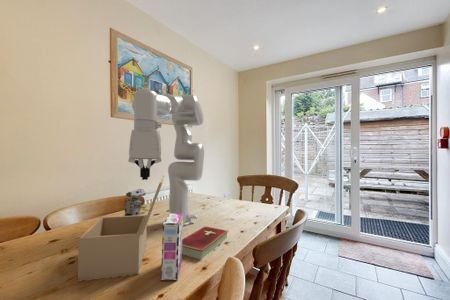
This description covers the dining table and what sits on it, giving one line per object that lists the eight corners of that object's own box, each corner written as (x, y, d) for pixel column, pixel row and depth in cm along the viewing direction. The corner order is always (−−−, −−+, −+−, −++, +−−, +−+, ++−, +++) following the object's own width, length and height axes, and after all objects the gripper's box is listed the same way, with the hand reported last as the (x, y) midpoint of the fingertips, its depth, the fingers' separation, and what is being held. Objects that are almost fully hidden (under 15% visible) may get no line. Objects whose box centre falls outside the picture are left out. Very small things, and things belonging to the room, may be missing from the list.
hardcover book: (173, 254, 78) (174, 242, 78) (204, 234, 97) (204, 225, 97) (201, 262, 73) (202, 249, 73) (228, 239, 92) (228, 230, 92)
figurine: (149, 216, 122) (150, 189, 122) (130, 221, 113) (130, 192, 113) (140, 213, 128) (141, 187, 128) (121, 217, 118) (122, 190, 119)
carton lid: (147, 215, 84) (149, 215, 84) (139, 234, 64) (142, 235, 65) (162, 175, 85) (164, 176, 86) (159, 182, 66) (162, 183, 66)
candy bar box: (178, 281, 61) (179, 223, 61) (160, 281, 61) (161, 223, 61) (182, 261, 72) (183, 212, 73) (167, 261, 72) (168, 212, 72)
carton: (146, 245, 84) (146, 214, 84) (138, 274, 64) (139, 234, 64) (100, 249, 80) (101, 217, 80) (77, 281, 60) (78, 238, 61)
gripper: (168, 128, 80) (167, 177, 80) (124, 126, 76) (124, 178, 77) (167, 126, 73) (167, 180, 73) (119, 124, 69) (119, 181, 69)
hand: (145, 179), depth 75 cm, fingers closed
